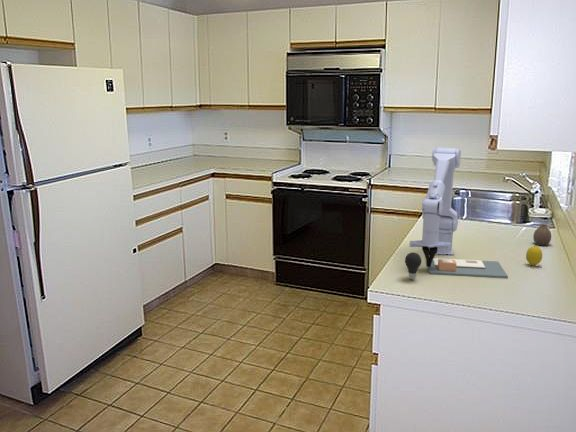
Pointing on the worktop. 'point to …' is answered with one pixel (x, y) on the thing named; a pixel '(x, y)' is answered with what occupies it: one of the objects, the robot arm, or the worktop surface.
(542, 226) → the brown pointed fruit
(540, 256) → the lemon
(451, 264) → the stub
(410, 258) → the light bulb
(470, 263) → the ticket
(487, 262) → the mat
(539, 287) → the worktop surface
